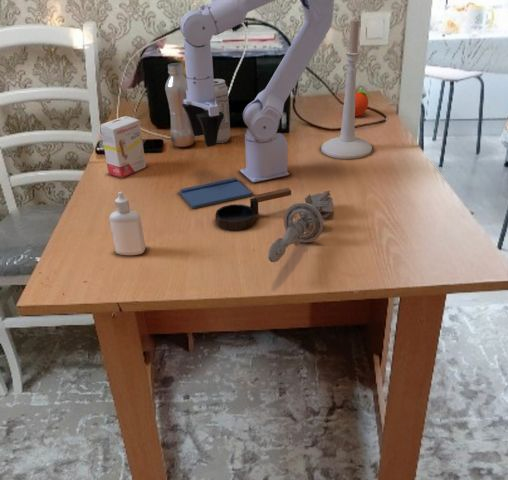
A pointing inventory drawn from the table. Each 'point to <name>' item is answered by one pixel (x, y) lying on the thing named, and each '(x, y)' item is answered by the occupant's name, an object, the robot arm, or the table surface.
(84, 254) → the table surface
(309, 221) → the spaceship
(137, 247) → the eye dropper bottle
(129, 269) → the table surface
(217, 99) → the energy drink can
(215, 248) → the table surface
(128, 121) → the ink box
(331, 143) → the candlestick
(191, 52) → the robot arm
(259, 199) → the pan
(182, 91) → the plastic bottle
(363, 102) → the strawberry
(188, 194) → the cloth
